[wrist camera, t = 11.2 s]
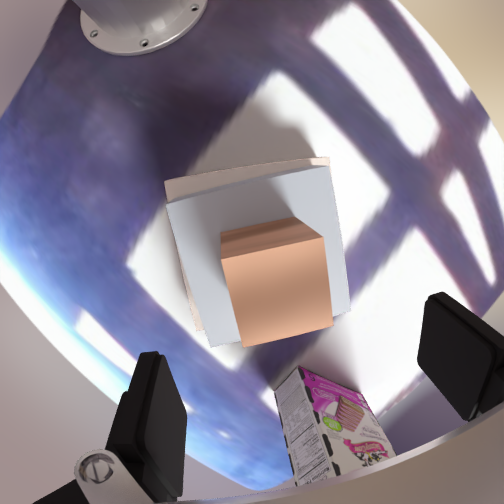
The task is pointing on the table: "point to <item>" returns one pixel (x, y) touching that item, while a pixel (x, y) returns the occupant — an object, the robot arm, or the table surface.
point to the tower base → (222, 177)
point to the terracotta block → (276, 280)
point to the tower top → (247, 214)
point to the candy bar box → (327, 428)
